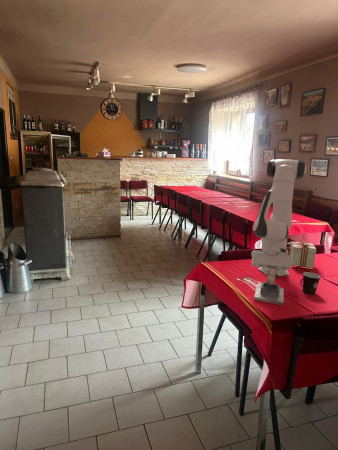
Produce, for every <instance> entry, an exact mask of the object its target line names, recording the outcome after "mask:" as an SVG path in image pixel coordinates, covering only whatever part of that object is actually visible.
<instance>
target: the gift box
mask: <svg viewBox="0 0 338 450" xmlns="http://www.w3.org/2000/svg"><path fill="white" fill-rule="evenodd" d="M287 245H289V246H290V249H289V250H290V251H289V256H290V259H291V264H292V266H300V267H306V268H313V269H314V267H315V259H316V254H317V248H316V247H315V245H314V243H310V242H309V243H308V242H307V241H305V240H303V239H300V242H298V241H290V242H287ZM287 245H286V246H287Z"/></svg>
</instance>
